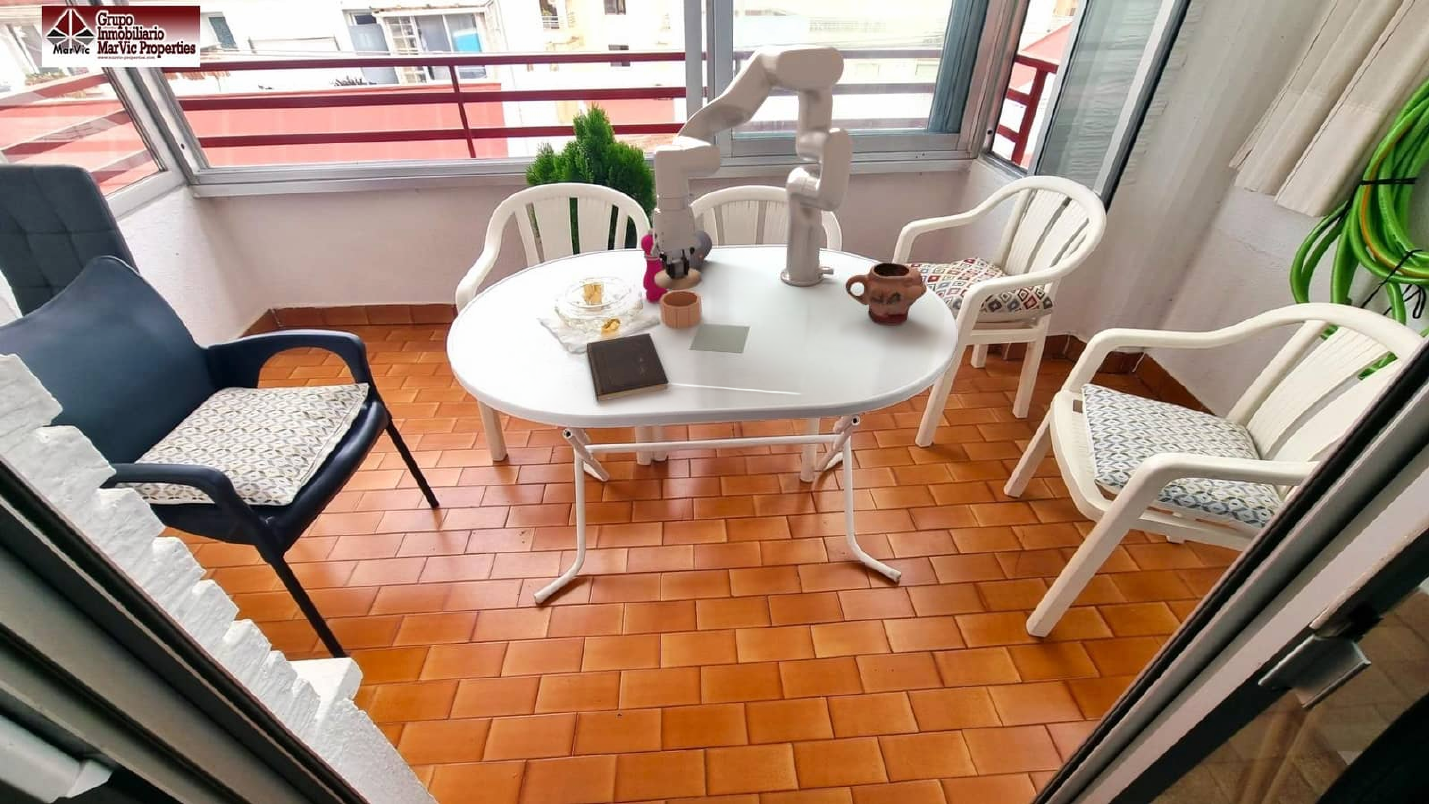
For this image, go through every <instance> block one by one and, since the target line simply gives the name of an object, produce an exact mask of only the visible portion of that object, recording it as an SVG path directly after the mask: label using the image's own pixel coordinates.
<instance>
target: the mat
mask: <svg viewBox="0 0 1429 804" xmlns="http://www.w3.org/2000/svg"><path fill="white" fill-rule="evenodd" d="M749 330H750V326H747V325H746V326H745V325H729V324H716V323H715V324H713V323H699V324H698V328H697V330H696V332H695V335H694V338H693V340H692V342H691V345H690V347H689V350H691V351H705V352H708V351H709V352H722V353H735V354H737V353H738V354H742V353H743V352H744V349H745V345H746V341H747V337H748V334H749Z"/></svg>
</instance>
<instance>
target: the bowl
mask: <svg viewBox="0 0 1429 804" xmlns="http://www.w3.org/2000/svg"><path fill="white" fill-rule="evenodd" d="M659 307H660V308H659V310H660V317H661V321H662V323H663V324H664V325H665V326H667V327H671V328H675V329H681V328H682V329H683V328H690V327H691V328H692V327H693V326H696V325H697V324H700V322H701V321H702V317H703V313H702V312H703V311H702V296H701V295H700V294H699V293H698V292H696V291H693V290H688V289H683V290H670V291H668V293H666V294H664V295H662V297H661V299H660V301H659Z"/></svg>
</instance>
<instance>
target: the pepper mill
mask: <svg viewBox="0 0 1429 804" xmlns="http://www.w3.org/2000/svg"><path fill="white" fill-rule="evenodd" d="M646 233H647V234H645V235H644V236H642V238H641V239H640V248H641V249H642V251H643V255H644V256H643V258H644V259H645V261H646V270H645V273H644V275H643V280H642V287H643V289H645V290H646V291H645V297H646V300H647V301H649V302H651V303H652V302H653V303H658V302H660V299H661V297H662V295H664V294H666V293H668V292H669V291H668V289H664V288H661V287H659V286H658V285H656V283H655V275H656V274H657V273H659V272H660V271H662V270H663V268H662V265H661V260H662V259H661V258H659V257H655V256H653V255H652V254H651V253H650V252H651V249H652V247H653V244H654V243H653V228H648V229H647V231H646ZM658 251H659V252H661V251H660V249H659V250H658ZM661 253H663V252H661Z"/></svg>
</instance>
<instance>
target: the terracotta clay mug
mask: <svg viewBox="0 0 1429 804" xmlns="http://www.w3.org/2000/svg"><path fill="white" fill-rule="evenodd" d="M857 283H859V284H861V285H863V292H862V294H859V295H856V294H854V293H853V292H852V291H851V288H852V286H853V285H854V284H857ZM844 286H845V291H846V293H847V294H848V295H849V296H851V298H853V299H854V300H855V301H857V302H858V303H860V304H862V305H863V306H868V311H867V312H868V313H867V314H868V316H869V318H870V320H871V321H873V322H874V323H877V324H881V325H885V326H886V325H890V326H891V325H900V324H903V323H905V322H906V321H907V319H908V316H909V310H910V308H911V306H912V305H914V303H916V301H917V300H918V299H920V298H921V297H922V296H924V295H925V294H926V293H927V290H928V289H927V288H928V287H927V285H926V283H924V281H923V276H922V274H921V272H920V271H919V270H918V269H917V268H914V267H911V266H910V265H907V264H903V263H895V262H879V263H875V264H873V266H871V267H870V269H869V273H868V272H867V274H866V273H865V274H856V275H853V276H851V277H849V278H848V279H847V281H846V283H845V285H844Z"/></svg>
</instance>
